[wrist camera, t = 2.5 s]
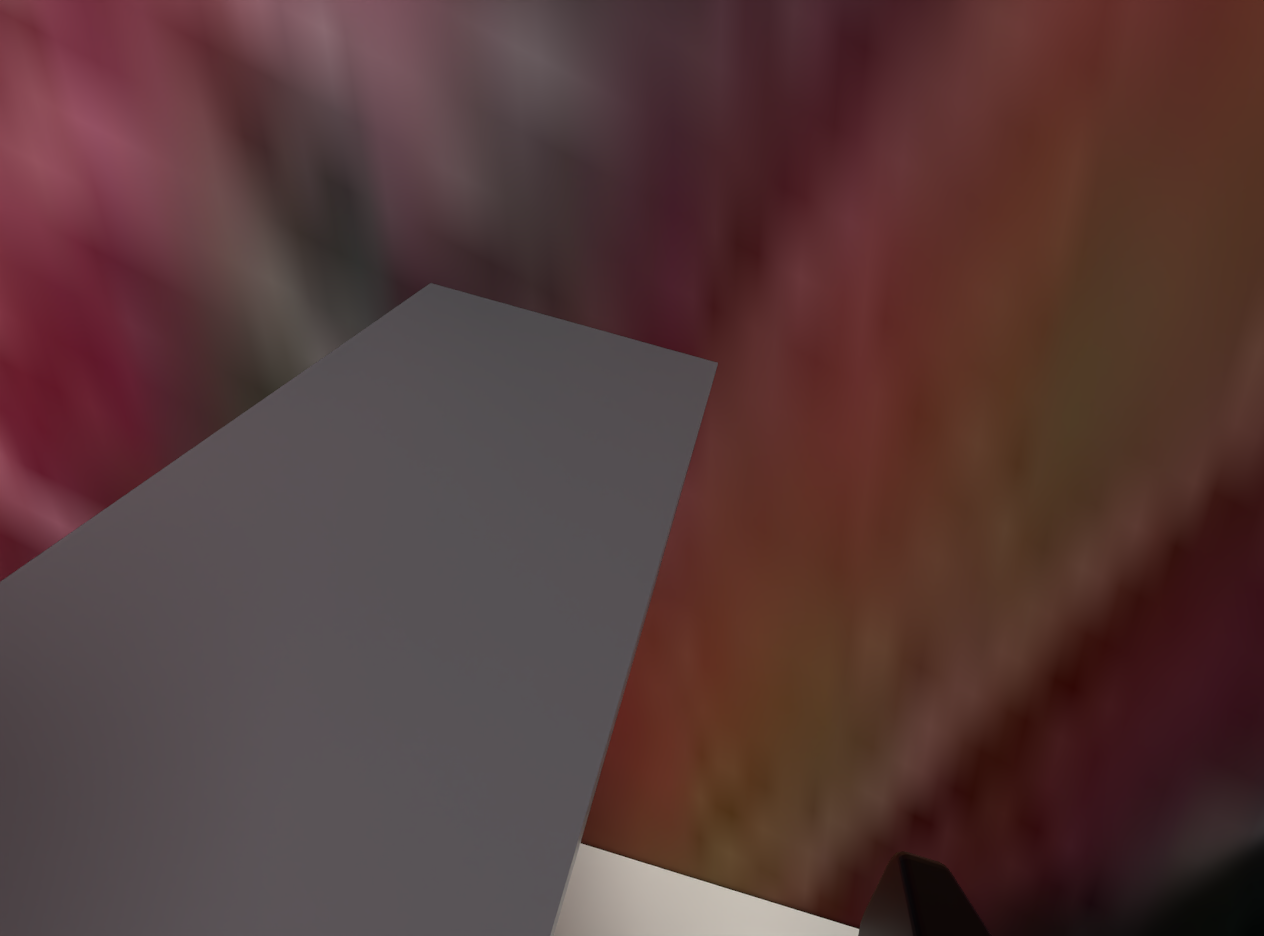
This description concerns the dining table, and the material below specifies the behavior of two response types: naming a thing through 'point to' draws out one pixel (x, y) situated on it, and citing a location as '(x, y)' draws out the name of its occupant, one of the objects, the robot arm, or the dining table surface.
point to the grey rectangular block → (349, 643)
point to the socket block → (670, 904)
